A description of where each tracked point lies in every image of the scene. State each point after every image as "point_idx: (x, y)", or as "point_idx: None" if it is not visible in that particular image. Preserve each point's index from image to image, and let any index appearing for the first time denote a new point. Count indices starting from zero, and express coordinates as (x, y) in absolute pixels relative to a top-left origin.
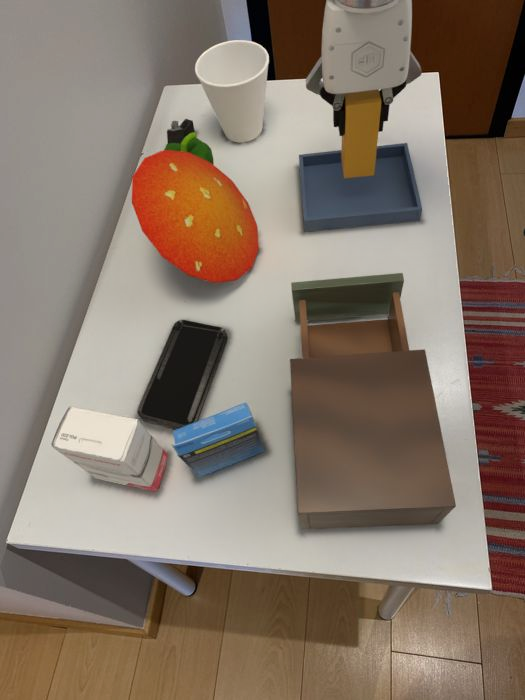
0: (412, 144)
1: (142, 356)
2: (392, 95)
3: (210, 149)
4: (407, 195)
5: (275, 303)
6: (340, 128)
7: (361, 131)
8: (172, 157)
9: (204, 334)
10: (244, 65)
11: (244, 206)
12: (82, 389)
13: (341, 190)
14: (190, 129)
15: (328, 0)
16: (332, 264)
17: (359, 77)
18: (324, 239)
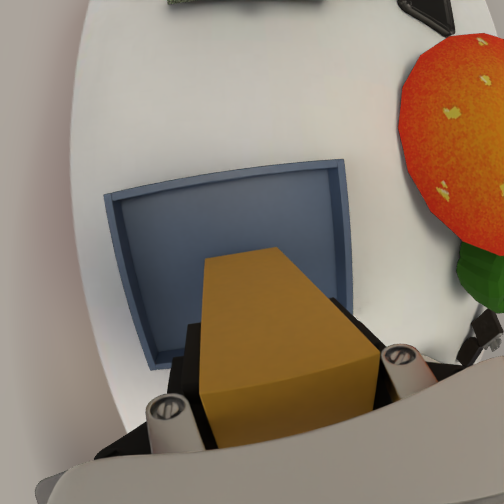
0: (146, 376)
1: (461, 18)
2: (149, 425)
3: (490, 294)
4: (137, 253)
5: (355, 30)
6: (343, 308)
7: (266, 305)
8: None
9: (424, 8)
10: None
11: (444, 184)
12: (482, 11)
13: None
14: (466, 355)
15: None
16: (275, 84)
17: (432, 487)
18: (294, 141)
